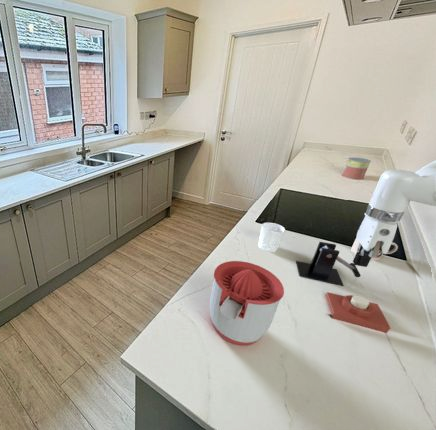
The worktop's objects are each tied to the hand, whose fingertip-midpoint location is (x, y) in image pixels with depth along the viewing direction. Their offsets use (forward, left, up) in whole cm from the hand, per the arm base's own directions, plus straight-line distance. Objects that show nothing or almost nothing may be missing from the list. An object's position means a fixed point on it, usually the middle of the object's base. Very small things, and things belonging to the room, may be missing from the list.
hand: (359, 264), depth 84 cm
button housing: (+3, +16, -8) cm, 18 cm away
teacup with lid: (-11, -21, -8) cm, 25 cm away
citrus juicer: (+34, +36, -8) cm, 50 cm away
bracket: (+9, 0, -8) cm, 12 cm away
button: (+3, +16, -4) cm, 17 cm away
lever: (+6, 0, -1) cm, 6 cm away
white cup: (+24, -11, -8) cm, 28 cm away
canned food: (-33, -132, -8) cm, 136 cm away
